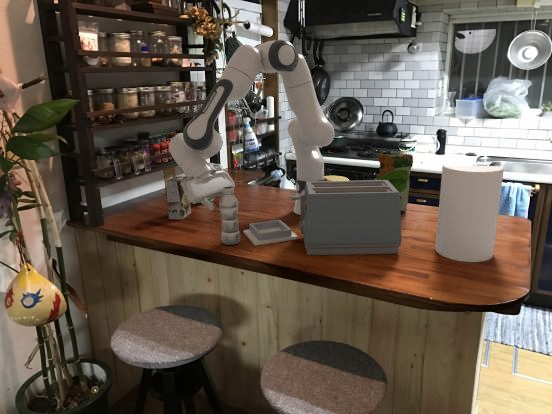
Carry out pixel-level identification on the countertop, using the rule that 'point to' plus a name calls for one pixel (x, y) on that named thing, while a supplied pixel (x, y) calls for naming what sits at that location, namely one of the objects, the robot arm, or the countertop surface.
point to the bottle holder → (269, 232)
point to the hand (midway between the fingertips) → (223, 205)
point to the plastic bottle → (229, 217)
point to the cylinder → (468, 212)
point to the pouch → (397, 174)
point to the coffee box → (177, 199)
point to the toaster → (350, 217)
